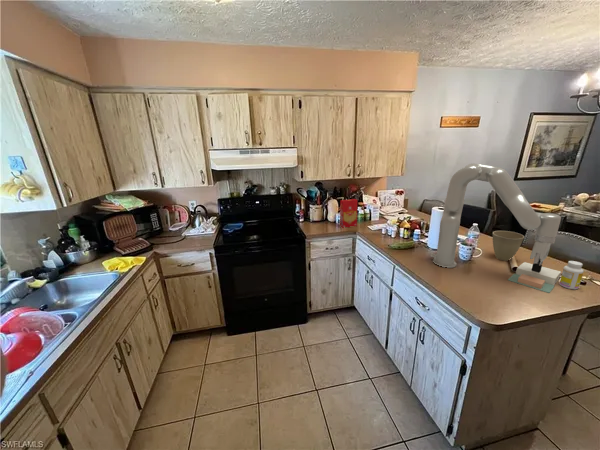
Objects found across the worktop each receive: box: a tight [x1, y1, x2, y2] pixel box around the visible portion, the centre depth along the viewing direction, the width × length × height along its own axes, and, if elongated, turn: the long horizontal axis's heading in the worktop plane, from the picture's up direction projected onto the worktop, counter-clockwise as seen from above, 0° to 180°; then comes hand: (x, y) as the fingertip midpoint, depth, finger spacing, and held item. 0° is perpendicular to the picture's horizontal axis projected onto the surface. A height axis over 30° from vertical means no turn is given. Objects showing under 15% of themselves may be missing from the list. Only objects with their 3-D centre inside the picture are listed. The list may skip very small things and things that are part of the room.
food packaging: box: [339, 198, 358, 229], centre depth 228 cm, size 15×5×25 cm, turn 109°
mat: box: [507, 273, 556, 294], centre depth 127 cm, size 16×10×1 cm, turn 35°
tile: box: [518, 274, 545, 289], centre depth 126 cm, size 9×6×2 cm, turn 35°
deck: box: [515, 261, 562, 285], centre depth 132 cm, size 15×12×4 cm
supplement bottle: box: [559, 260, 584, 290], centre depth 121 cm, size 7×7×13 cm
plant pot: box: [492, 230, 525, 262], centre depth 153 cm, size 15×15×16 cm
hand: (535, 271), depth 128 cm, fingers closed
